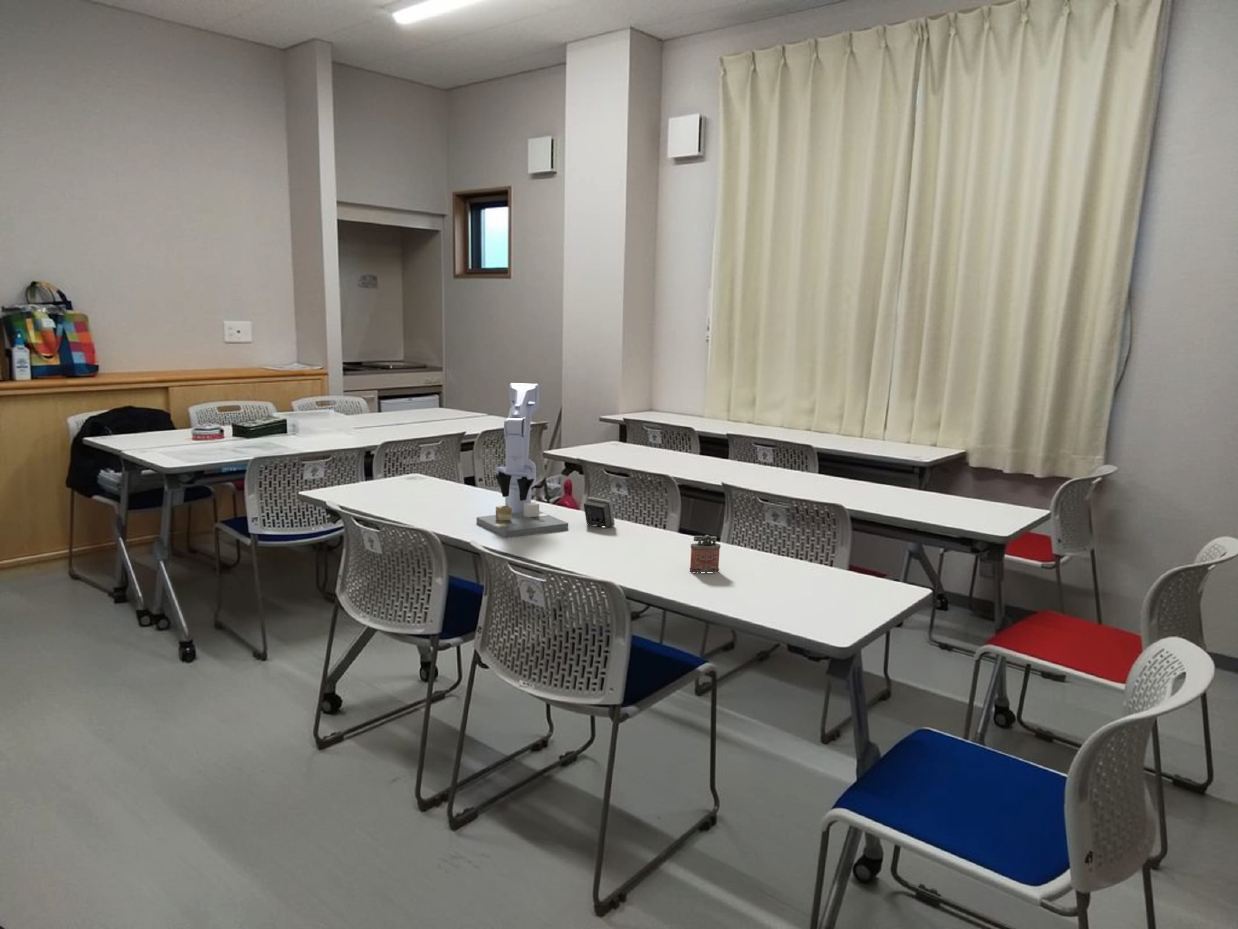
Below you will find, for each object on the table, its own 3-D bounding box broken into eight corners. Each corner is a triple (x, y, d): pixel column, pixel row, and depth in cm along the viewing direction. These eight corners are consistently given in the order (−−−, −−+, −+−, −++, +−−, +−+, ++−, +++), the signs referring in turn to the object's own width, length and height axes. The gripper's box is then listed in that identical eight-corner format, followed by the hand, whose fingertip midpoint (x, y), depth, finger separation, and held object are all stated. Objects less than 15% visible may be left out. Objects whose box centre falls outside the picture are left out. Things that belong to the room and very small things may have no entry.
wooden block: (495, 518, 262) (495, 506, 261) (507, 517, 264) (507, 505, 263) (500, 520, 259) (500, 508, 259) (511, 519, 262) (511, 507, 261)
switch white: (523, 515, 267) (523, 503, 267) (534, 514, 270) (534, 502, 269) (528, 517, 265) (528, 505, 264) (539, 516, 267) (539, 504, 267)
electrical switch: (615, 526, 266) (614, 499, 264) (606, 531, 262) (605, 503, 260) (591, 522, 271) (590, 495, 269) (582, 526, 267) (581, 499, 265)
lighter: (716, 569, 224) (718, 533, 222) (720, 573, 221) (722, 537, 219) (688, 570, 223) (689, 534, 221) (691, 574, 219) (693, 537, 218)
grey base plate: (476, 523, 264) (476, 516, 264) (536, 515, 277) (536, 509, 276) (505, 537, 248) (505, 531, 248) (568, 529, 261) (568, 522, 260)
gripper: (489, 454, 260) (488, 496, 263) (522, 460, 252) (522, 504, 254) (504, 452, 266) (504, 493, 269) (538, 457, 258) (537, 500, 260)
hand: (514, 498), depth 262 cm, fingers open, 7 cm apart
